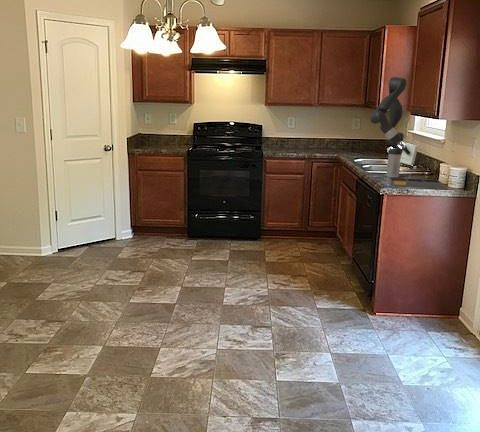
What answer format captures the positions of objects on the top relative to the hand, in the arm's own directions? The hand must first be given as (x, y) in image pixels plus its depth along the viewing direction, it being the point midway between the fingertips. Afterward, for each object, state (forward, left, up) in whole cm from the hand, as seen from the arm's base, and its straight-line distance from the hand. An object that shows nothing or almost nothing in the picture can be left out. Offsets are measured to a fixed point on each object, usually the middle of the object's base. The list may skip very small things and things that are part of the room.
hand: (407, 153), depth 353 cm
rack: (+4, +6, -22) cm, 23 cm away
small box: (0, 0, -7) cm, 7 cm away
